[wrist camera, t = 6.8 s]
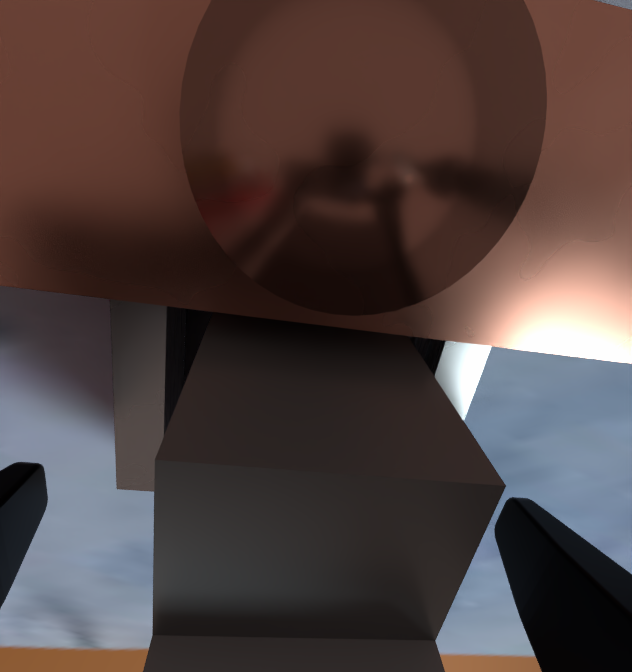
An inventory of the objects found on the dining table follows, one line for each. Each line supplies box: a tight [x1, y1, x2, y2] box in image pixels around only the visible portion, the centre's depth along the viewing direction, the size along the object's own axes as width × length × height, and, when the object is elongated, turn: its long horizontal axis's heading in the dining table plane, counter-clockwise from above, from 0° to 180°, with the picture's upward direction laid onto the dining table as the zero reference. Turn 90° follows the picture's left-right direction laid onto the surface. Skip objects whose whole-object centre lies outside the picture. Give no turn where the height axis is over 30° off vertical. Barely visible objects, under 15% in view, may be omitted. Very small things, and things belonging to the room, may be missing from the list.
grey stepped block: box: [143, 312, 506, 672], centre depth 8 cm, size 4×6×7 cm, turn 170°
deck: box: [0, 0, 632, 491], centre depth 8 cm, size 12×10×4 cm
